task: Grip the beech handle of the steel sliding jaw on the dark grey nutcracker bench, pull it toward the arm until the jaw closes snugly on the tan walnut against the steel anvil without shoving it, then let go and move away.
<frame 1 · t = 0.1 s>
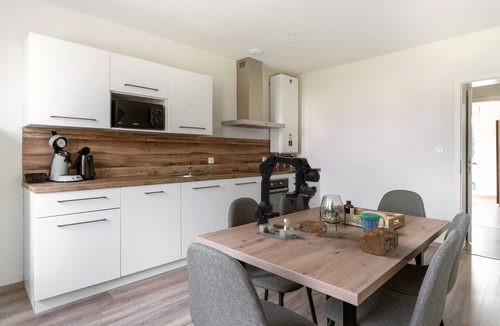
hand: (300, 210, 153), 15 cm above the table, tool pointing down, fingers open, 9 cm apart
tin: (313, 235, 157), on the table
snack cup: (370, 232, 164), on the table
jaw: (286, 227, 149), point 6 cm above the table, slide at 0.0 cm
walnut: (271, 232, 157), point 1 cm above the table, touching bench
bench: (278, 237, 153), on the table
bread: (379, 250, 133), on the table
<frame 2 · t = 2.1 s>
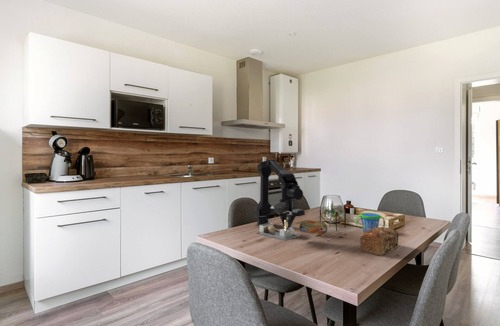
hand: (286, 227, 149), 7 cm above the table, tool pointing down, fingers closed on jaw, 3 cm apart
jaw: (286, 227, 149), point 6 cm above the table, slide at 0.0 cm, touching gripper
everything else where it was.
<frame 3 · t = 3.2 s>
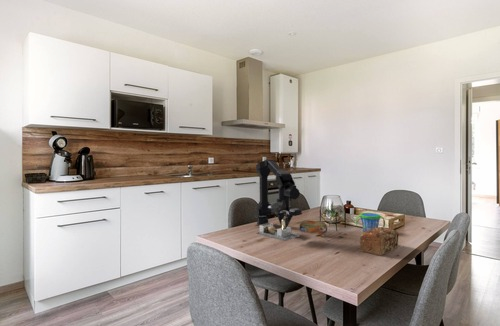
hand: (284, 226, 150), 6 cm above the table, tool pointing down, fingers closed on jaw, 3 cm apart
jaw: (284, 227, 150), point 6 cm above the table, slide at 1.8 cm, touching gripper
everything else where it was.
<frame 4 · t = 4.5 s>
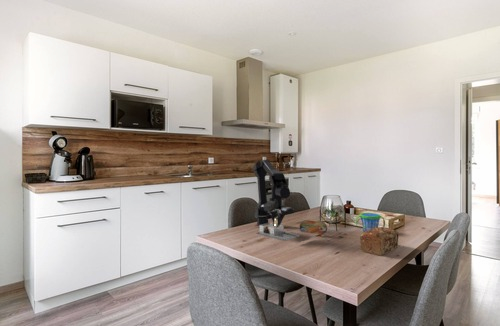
hand: (276, 224, 154), 6 cm above the table, tool pointing down, fingers closed on jaw, 3 cm apart
jaw: (276, 225, 154), point 6 cm above the table, slide at 6.9 cm, touching gripper
everything else where it was.
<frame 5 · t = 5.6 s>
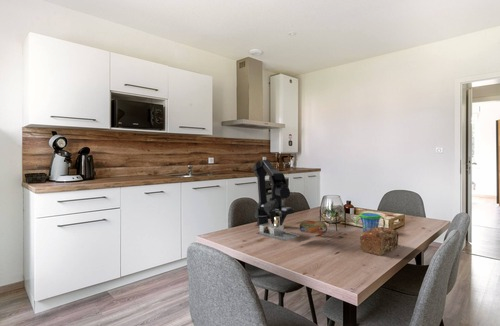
hand: (276, 224, 154), 6 cm above the table, tool pointing down, fingers open, 5 cm apart
jaw: (276, 225, 154), point 6 cm above the table, slide at 7.0 cm
everything else where it was.
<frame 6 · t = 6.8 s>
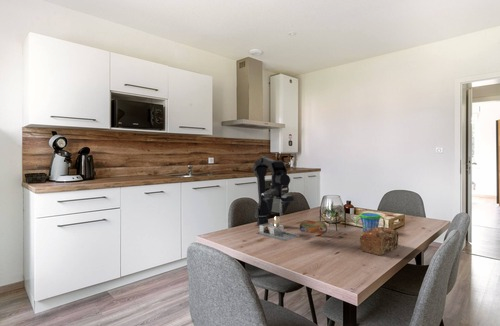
hand: (276, 212, 154), 13 cm above the table, tool pointing down, fingers open, 9 cm apart
nothing on the table moved.
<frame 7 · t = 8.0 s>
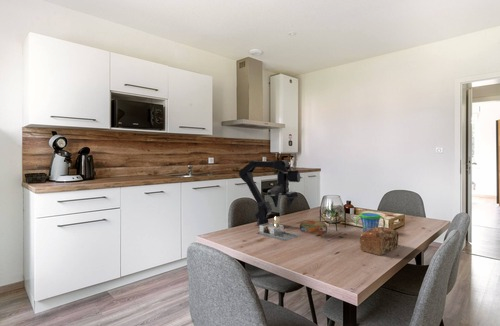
hand: (282, 208, 168), 13 cm above the table, tool pointing down, fingers open, 9 cm apart
nothing on the table moved.
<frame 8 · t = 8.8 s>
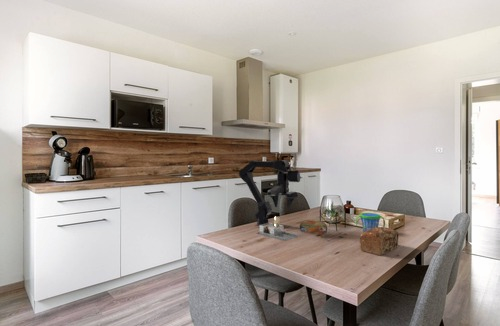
hand: (282, 208, 168), 13 cm above the table, tool pointing down, fingers open, 9 cm apart
nothing on the table moved.
at the end: jaw slide at 7.0 cm; walnut moved 0.0 cm from its start; the gripper is holding nothing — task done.
